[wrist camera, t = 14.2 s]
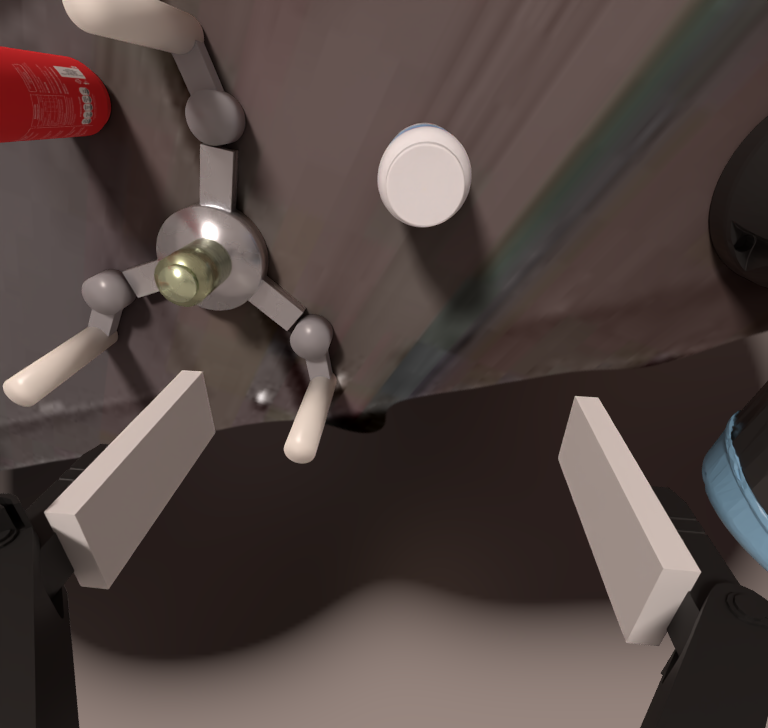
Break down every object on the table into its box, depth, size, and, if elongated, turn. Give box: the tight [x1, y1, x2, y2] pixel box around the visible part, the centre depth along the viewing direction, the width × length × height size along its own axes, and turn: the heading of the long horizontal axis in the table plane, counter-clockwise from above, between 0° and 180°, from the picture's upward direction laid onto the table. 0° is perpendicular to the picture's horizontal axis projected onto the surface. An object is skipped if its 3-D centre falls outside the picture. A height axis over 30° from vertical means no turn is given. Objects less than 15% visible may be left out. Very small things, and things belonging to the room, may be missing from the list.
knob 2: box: [284, 314, 337, 463], centre depth 40 cm, size 9×4×11 cm, turn 6°
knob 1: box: [3, 269, 136, 406], centre depth 39 cm, size 9×4×11 cm, turn 150°
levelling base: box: [122, 143, 306, 331], centre depth 36 cm, size 17×14×8 cm
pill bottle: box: [378, 123, 472, 227], centre depth 31 cm, size 6×6×11 cm
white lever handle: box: [62, 0, 245, 146], centre depth 29 cm, size 9×4×11 cm, turn 18°
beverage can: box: [0, 47, 111, 143], centre depth 30 cm, size 5×5×12 cm
